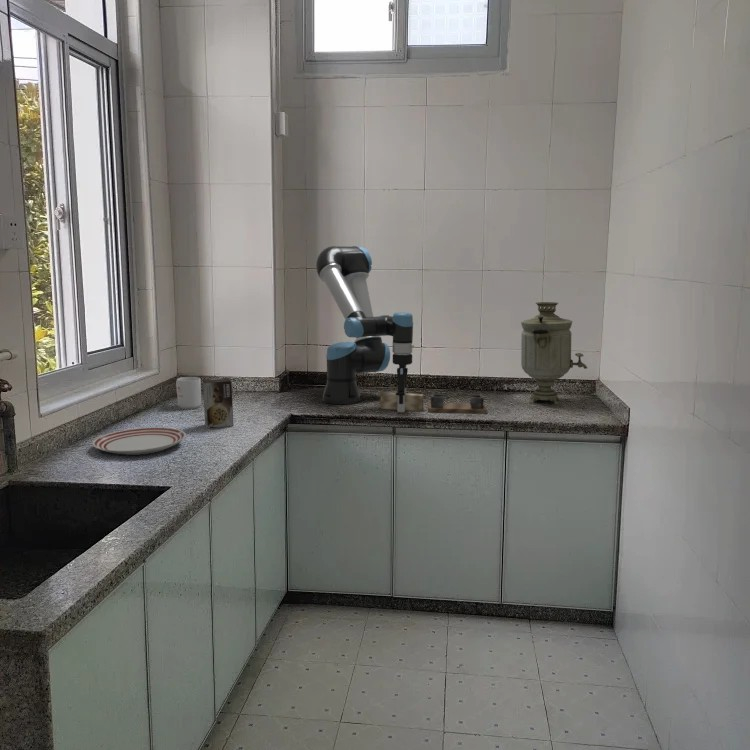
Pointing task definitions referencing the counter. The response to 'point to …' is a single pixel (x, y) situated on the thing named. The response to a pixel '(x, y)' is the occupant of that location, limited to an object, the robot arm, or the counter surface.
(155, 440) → the dinner plate
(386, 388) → the counter surface
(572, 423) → the counter surface
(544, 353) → the samovar
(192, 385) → the mug
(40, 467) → the counter surface
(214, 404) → the coffee box
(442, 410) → the slat base
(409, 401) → the slat
